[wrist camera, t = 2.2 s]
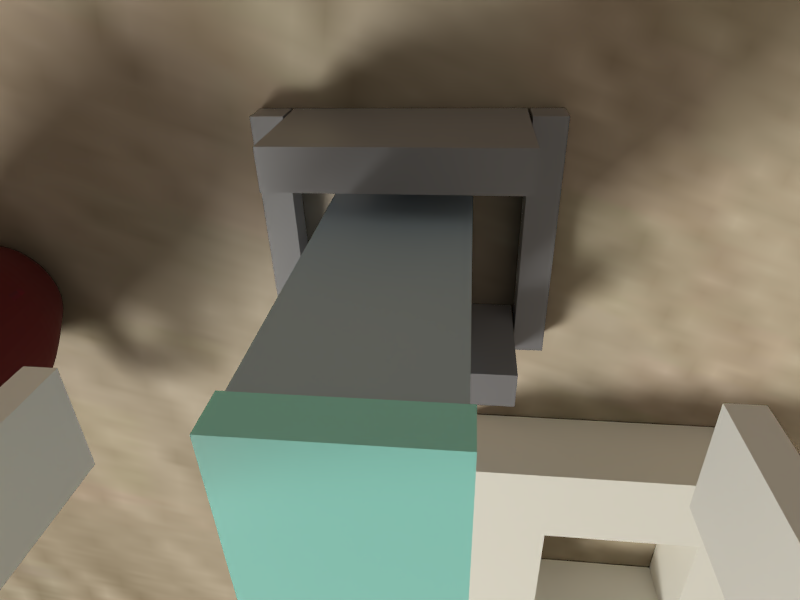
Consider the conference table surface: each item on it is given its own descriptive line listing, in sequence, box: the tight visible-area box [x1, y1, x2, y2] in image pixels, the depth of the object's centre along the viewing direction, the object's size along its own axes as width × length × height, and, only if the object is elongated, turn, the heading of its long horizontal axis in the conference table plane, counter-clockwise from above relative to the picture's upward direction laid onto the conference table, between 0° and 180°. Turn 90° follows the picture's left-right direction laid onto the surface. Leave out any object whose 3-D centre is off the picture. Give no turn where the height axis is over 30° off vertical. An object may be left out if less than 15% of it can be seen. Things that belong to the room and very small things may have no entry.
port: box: [469, 415, 725, 600], centre depth 25 cm, size 12×12×3 cm
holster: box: [250, 108, 570, 407], centre depth 18 cm, size 8×9×4 cm
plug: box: [190, 194, 477, 600], centre depth 15 cm, size 4×4×12 cm
